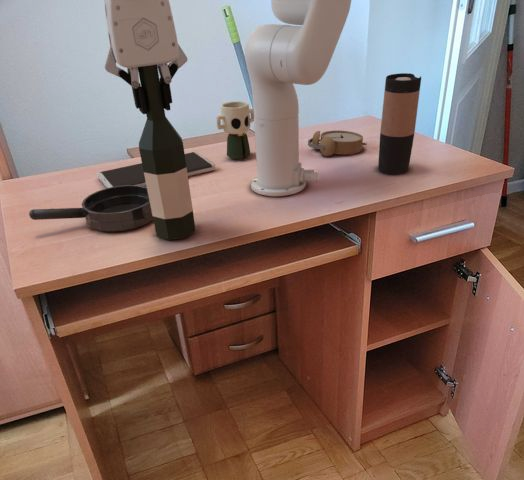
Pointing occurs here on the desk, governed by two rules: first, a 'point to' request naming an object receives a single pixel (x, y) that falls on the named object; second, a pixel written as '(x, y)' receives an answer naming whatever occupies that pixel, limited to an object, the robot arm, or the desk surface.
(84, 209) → the pan
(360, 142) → the alarm clock
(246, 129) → the character mug
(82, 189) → the desk surface
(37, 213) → the pan handle
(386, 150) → the travel mug
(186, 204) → the wine bottle
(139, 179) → the smartphone
